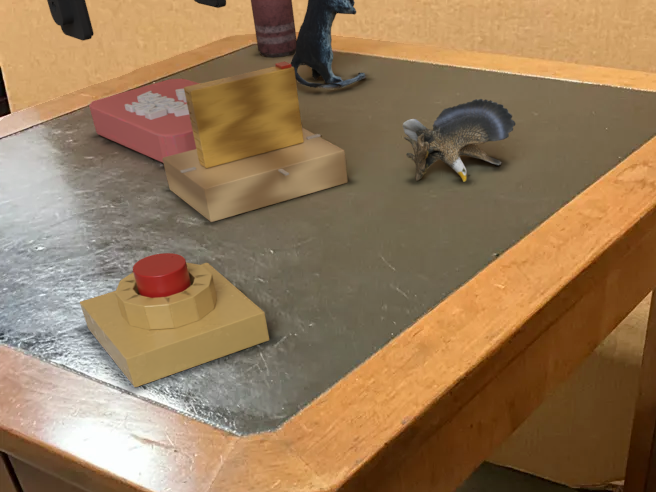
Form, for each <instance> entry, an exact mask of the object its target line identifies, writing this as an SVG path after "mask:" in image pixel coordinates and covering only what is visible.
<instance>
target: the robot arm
mask: <svg viewBox="0 0 656 492" xmlns="http://www.w3.org/2000/svg"><path fill="white" fill-rule="evenodd" d="M46 1H47V5H48V9H49V12H50V15H51V18H52V20H53V22H54V23H55V24H56V25H57V26H59V27H60V29H61V31H62V33H63V34H64V35H65V36H68V37H71V38H73V39H77V40H80V41H88V40H91V39H92V38H93V36H94V35H95V34H94V29H93V25H92V20H91V17H90V13H89V9H88V7H87V3H86V0H46ZM193 1H194V2H195V3H197V4H200V5H203V6H208V7H212V8H216V9H220V8H224V7H226V6H227V0H193Z"/></svg>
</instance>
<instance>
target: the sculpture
mask: <svg viewBox="0 0 656 492" xmlns="http://www.w3.org/2000/svg"><path fill="white" fill-rule="evenodd" d="M355 3H356V2H355V0H307V6H306V11H305V14H304V18H303V20H302V23H301V25H300V26H299V29H298V30H299V31H298V34H297V36H296V39H297V41H296V51H295V52H294V53H293V56H292V57H291V61H290V64H291V66H292V67H294V70H295V78H296V82H297V83H298V84H300V85H302V86H304V87H305V86H306V87H309V88H314V89H318V88H320V89H321V88H323V89H326V90H339V89H342V88H344V87H347V86H349V85H352V84H354V83H357V82H359V81H362V80H363V79H366V78H367V76H366V73H365V72H358V73H357V75H356V76H355V77H352V78H348V79H344V80H343V78H342V77H341V76H337V75H335V74H334V72H333V67H332V65H333V60H334V52H333V47H332V40H333V39H332V26H333V23H334V21H335V19H336V16H337V14H339V15H341V14H342V15H354V16H355V15H356V14H357V10H356V7H354V6H355ZM300 66H307V67H309V68H311V77H312V78H313V80H315V81H317V80H318V79H319V78H320V77H321V78H322V79H323V81H324V83H319V82H309V81H307V80H305V78H302V77H301V76H300V74H299V73H298V69H299V67H300Z"/></svg>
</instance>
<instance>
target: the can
mask: <svg viewBox="0 0 656 492" xmlns="http://www.w3.org/2000/svg"><path fill="white" fill-rule="evenodd" d="M250 5H251V11H252V18H253V25H254V30H255V39H256V44H257V50H258V52H259V54H260V55H261V56H263V57H264V58H265V57H266V58H280V57H287V56H291V55H294V54H295V52H296V41H297V31H296V23H295V16H294V8H293V7H294V6H293V0H250Z"/></svg>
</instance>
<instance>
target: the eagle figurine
mask: <svg viewBox="0 0 656 492" xmlns="http://www.w3.org/2000/svg"><path fill="white" fill-rule="evenodd" d="M512 118H513V114H512V113H510V112H509V109H508V108H505V107H504V104H502V103H498V102H496V101H493V100H491V99H490V100H488V99H485V98H484V99H483V98H479V99H477V98H475V99H473V100H472V101H467V102H465V103H459V104H458V105H454V106H449V107H446V108H443V109H442V111H441V112H440V113H439V114H438V116H437V117H436V119H435V120H434V121H433V124H432V129H430V128H428V127H427V126H425V125H424V124H423V123H422V122H421V121H419V120H418V119H417V118H412V119H411V118H410V119H407V120H406V121H404V122H403V123H402V128H403V132H404V134H405V135H406V136H404V140H406V141H407V142H409V143H410V144H411V146H412V150H413V153H414V154H413V153H411V152H407V153H406V154H405V155H406V157H407V158H408V159H411V160H412V161H413V162H414V164H415V170H416V171H415V177H414V178H415V181H416V182H419V181H420V180H422V178H423V176H425V174H427V171H428V169H429V168H430V167H431V165H432V164H434V163H435V162H437V161H439V160H440V161H442V162H443V163H444V164H445V165H446V166H448V167H449V168H451V169H452V170H453V171H455V172H456V174H458V176H460V178H461V180H462V182H463V183H465V182H467V168H466V166H465V164H464V163H463V161H462V159H461V156H466V157H471V158H474V159H478V160H482V161H485V162H486V163H490V164H492V165H495V166H501V165H502V161H501V160H499V159H497V158H494V157H492V156H489V155H488V154H487V152H485V151H484V149H482V148H481V147H480V146H479V145H481V144H485V143H488V142H499V141H504V140H505V139H508V138H509V137H510V133H511V132H513V131H514V127H515V126H516V125H517V124H516V122H515V120H514V119H512Z"/></svg>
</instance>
